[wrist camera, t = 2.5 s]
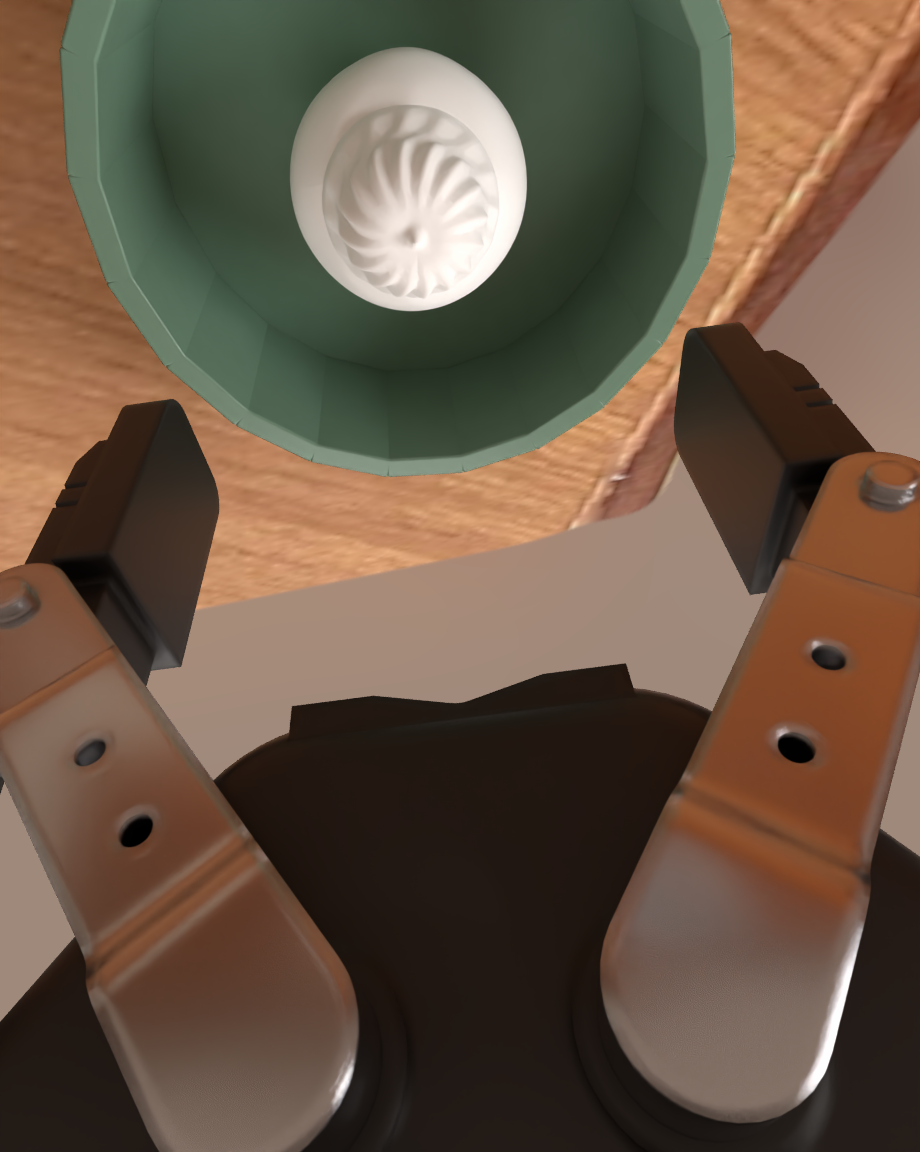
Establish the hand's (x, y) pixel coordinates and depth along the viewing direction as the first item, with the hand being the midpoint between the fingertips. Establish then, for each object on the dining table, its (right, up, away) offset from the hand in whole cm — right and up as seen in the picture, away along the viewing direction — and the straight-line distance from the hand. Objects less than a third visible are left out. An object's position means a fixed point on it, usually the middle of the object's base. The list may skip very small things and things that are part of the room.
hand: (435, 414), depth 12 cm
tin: (-1, +10, +10) cm, 14 cm away
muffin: (-1, +10, +10) cm, 14 cm away
